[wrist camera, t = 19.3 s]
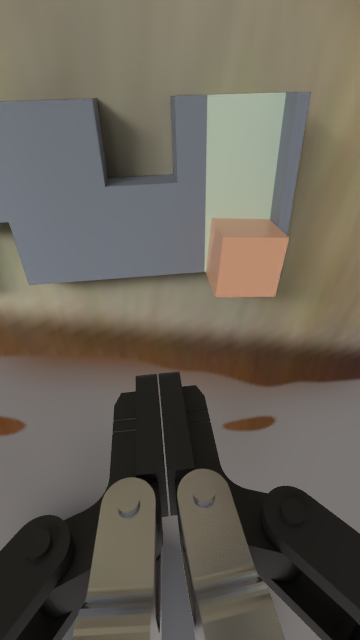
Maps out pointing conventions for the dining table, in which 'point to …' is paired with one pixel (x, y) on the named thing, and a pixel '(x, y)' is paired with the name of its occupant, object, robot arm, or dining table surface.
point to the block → (245, 257)
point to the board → (143, 184)
